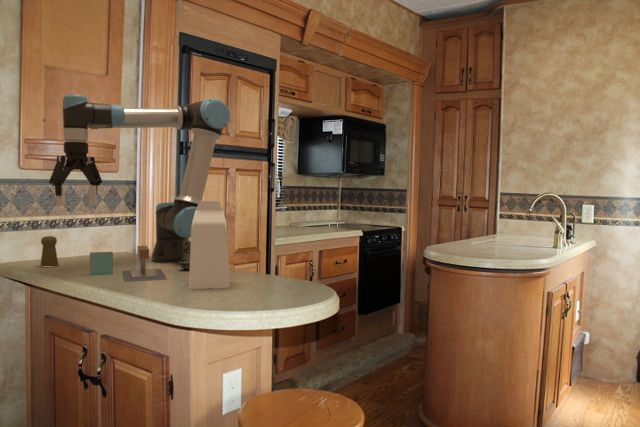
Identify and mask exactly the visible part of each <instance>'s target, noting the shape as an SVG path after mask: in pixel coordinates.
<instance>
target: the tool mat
mask: <svg viewBox="0 0 640 427" xmlns="http://www.w3.org/2000/svg"><path fill="white" fill-rule="evenodd" d="M136 270H137V269H132V270H131V269H130V270H129V269H128V270H122V271H121V272H122V277H123V282H124V283H131V282H150V281H166V280H167V281H168V280H169V279H168V278H167V277H166V274H165V273H164V272H163V270H162V269H161V268H153V269H147V270H155V271H156V272H157V274H158V278H145V279H132V277H131V274H130V271H136Z"/></svg>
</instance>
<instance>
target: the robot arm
mask: <svg viewBox="0 0 640 427" xmlns="http://www.w3.org/2000/svg"><path fill="white" fill-rule="evenodd" d="M230 119H231V114H230V110H229V107H227V105H226V103H225V102H224V101H222V100H221V99H218V98H206V99H203V100H201V101H195V102H194V103H192V102H191V103H188V104H181V105H175V106H174V107H123V106H122V105H120V104H119V105H118V104H114V103H110V104H109V103H98V102H90V101H88V98H87V96H86V95H82V94H66V95H64V96H63V98H62V120H63V121H62V123H63V124H62V126H63V129H62V131H63V140H64V141H65V142H63V153H64V154H65V155H57V156H56V163H55V166H54V167H53V171H52V173H51V175H50V179H49V181H48V183H49V184H50V185H52V186H53V187H54V194H55V196H56V206H57V207H65V206H66V197H65V196H66V194H65V192H66V190H65V185H64V183H65V181H66V180H67V179H68V177H69V176H70V174H71V172H72V171H76V170H77V171H78V170H79V171H80V172H82V174H83V176H85V178H86V179H87V181H88V182H89V184H90V185H88V202H89V203H88V205H98V201H97V199H98V197H97V195H98V189H99V188H98V186H100V185H101V184H102V183H103V180H102V177H101V174H100V172H99V169H98V167H97V165H96V158H95V157H94V156H87V155H88V153H89V143H88V141H89V129H90V130H100V129H135V128H136V129H138V128H141V129H143V128H144V129H145V128H148V129H149V128H175V129H176V130H178V131H182V130H183V131H190V132H191V133H192V135H193V136H192V141H191V146H190V151H189V154H188V158H187V163H186V167H185V171H184V176H183V181H182V183H181V184H182V185H181V189H180V192H179V195H178V196H177V197H175V198H174V199H173V201H169V202H160V203H158V204H157V205H156V206H155V207H156V209H155V220H156V221H155V224H156V226H155V228H156V229H155V232H156V234H155V235H156V236H155V238H156V241H155V243H154V247H153V251H152V253H151V261H152V262H155V263H179V261H181V260H182V258H183V252H182V251H183V242H184V241H186V238H188V239H189V238H190V239H191V226H192V221H193V218H194V214H195V210H196V208H197V206H198V204H199V201H203V198H204V194H205V189H206V184H207V182H208V181H207V180H208V176H209V172H210V167H211V163H212V160H213V155H214V150H215V145H216V141H218V140H220V139H222V138H221V137H222V134H223V130H224V129H223V128H225V127H227V125H228V124H229V123H230Z"/></svg>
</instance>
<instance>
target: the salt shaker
mask: <svg viewBox="0 0 640 427" xmlns="http://www.w3.org/2000/svg"><path fill="white" fill-rule="evenodd" d="M190 247H191V240H189V238H186V241H184V242H183V251H182V252H183V258H182V260H181V261H179V262H178V263H179V267H180V268H181V269H183V271H190Z"/></svg>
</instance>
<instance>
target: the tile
mask: <svg viewBox="0 0 640 427" xmlns="http://www.w3.org/2000/svg"><path fill="white" fill-rule="evenodd" d="M113 261H114V251H93V252H92V251H90V252H89V270H90V271H89V274H90V276H102V275H113V274H114V262H113Z"/></svg>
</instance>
